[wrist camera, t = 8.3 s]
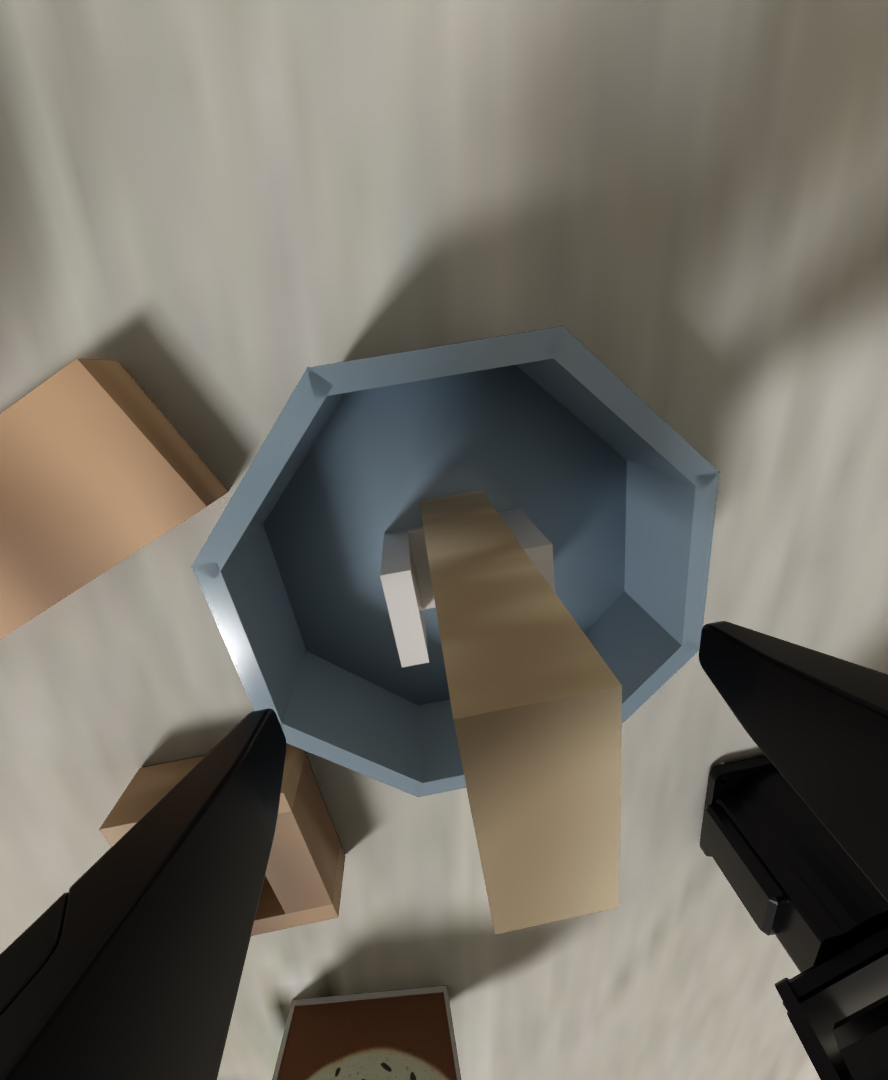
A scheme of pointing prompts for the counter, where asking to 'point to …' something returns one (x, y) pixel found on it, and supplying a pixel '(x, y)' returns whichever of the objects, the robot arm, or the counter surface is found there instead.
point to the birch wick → (526, 721)
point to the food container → (370, 1037)
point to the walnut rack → (297, 851)
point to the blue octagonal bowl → (400, 549)
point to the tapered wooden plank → (86, 484)
